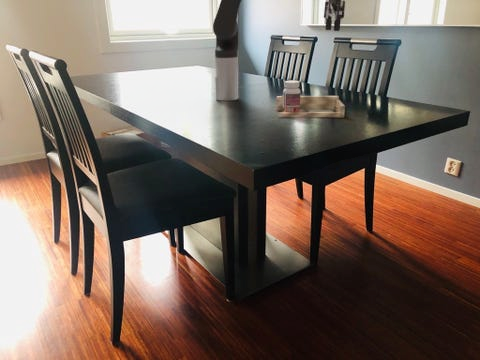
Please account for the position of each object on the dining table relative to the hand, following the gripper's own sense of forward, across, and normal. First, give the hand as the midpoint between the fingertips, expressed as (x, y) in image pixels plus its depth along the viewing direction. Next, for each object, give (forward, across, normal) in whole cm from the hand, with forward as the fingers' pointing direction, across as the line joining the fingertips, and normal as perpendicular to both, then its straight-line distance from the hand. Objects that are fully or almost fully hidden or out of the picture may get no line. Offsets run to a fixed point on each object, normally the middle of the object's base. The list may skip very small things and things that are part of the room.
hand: (332, 30), depth 152 cm
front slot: (+27, +22, -10) cm, 37 cm away
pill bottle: (+28, +20, -21) cm, 40 cm away
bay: (+27, +22, -15) cm, 38 cm away
